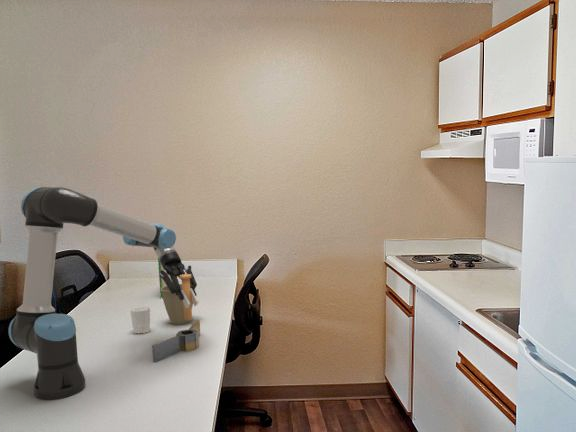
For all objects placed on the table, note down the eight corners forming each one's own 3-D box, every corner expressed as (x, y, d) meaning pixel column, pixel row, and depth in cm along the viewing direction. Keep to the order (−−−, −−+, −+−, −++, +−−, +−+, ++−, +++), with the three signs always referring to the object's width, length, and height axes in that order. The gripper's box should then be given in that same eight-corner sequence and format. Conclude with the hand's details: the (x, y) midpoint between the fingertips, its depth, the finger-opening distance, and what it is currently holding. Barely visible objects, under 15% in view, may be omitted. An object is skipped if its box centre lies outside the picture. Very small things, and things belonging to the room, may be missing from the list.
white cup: (154, 331, 230) (153, 308, 229) (138, 335, 224) (136, 312, 223) (144, 327, 235) (143, 305, 234) (128, 332, 229) (126, 309, 228)
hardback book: (174, 297, 288) (172, 253, 285) (160, 298, 286) (157, 254, 284) (176, 290, 305) (173, 248, 303) (162, 291, 304) (159, 249, 301)
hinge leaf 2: (175, 351, 203) (174, 336, 202) (190, 334, 223) (189, 319, 223) (194, 351, 202) (194, 335, 201) (207, 333, 223) (207, 319, 222)
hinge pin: (180, 320, 204) (178, 276, 202) (184, 317, 208) (181, 274, 207) (192, 320, 204) (189, 276, 202) (195, 317, 208) (192, 273, 206)
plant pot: (197, 325, 235) (194, 289, 234) (162, 328, 233) (159, 292, 231) (197, 316, 250) (195, 282, 248) (164, 319, 247) (162, 285, 246)
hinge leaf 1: (187, 343, 212) (186, 328, 211) (202, 346, 207) (202, 331, 206) (146, 359, 195) (145, 343, 194) (162, 364, 190) (161, 347, 190)
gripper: (183, 259, 221) (207, 306, 210) (147, 265, 211) (170, 315, 200) (189, 248, 216) (213, 295, 205) (152, 253, 206) (176, 303, 195)
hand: (192, 305), depth 202 cm, fingers closed on hinge pin, 3 cm apart
